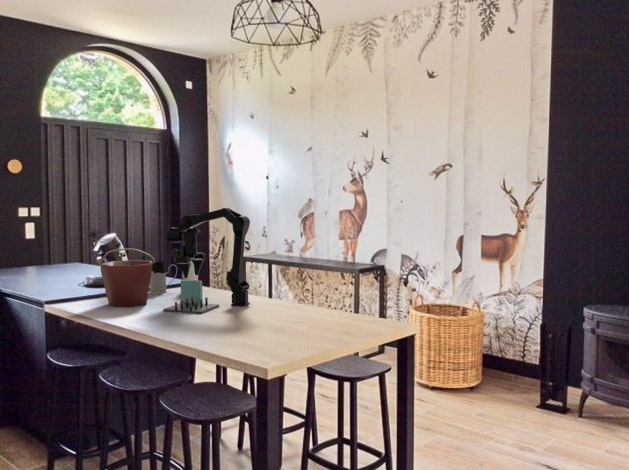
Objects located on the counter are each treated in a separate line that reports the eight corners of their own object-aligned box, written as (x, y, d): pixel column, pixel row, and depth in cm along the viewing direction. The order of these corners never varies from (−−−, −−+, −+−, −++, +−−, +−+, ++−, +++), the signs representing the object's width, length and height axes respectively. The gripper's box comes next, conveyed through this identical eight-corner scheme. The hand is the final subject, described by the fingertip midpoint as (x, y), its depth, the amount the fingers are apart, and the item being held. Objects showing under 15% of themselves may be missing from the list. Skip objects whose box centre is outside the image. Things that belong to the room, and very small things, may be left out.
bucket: (92, 308, 252) (91, 251, 250) (109, 299, 274) (107, 246, 272) (149, 308, 252) (148, 250, 250) (161, 298, 274) (160, 246, 272)
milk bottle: (200, 291, 295) (199, 251, 293) (195, 293, 287) (194, 253, 286) (185, 290, 296) (184, 251, 294) (180, 293, 288) (179, 253, 287)
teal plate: (202, 302, 265) (202, 280, 264) (200, 303, 263) (200, 281, 262) (183, 301, 268) (182, 279, 267) (181, 302, 266) (180, 280, 265)
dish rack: (219, 306, 254) (218, 297, 254) (201, 314, 239) (200, 304, 239) (183, 304, 260) (182, 295, 260) (163, 311, 245) (163, 302, 245)
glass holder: (147, 292, 293) (146, 262, 292) (175, 289, 299) (175, 261, 298) (150, 294, 285) (149, 264, 284) (179, 292, 291) (178, 262, 290)
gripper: (185, 240, 275) (186, 273, 276) (163, 244, 257) (164, 279, 258) (206, 241, 271) (207, 274, 272) (185, 244, 254) (186, 279, 255)
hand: (191, 276), depth 265 cm, fingers open, 9 cm apart
